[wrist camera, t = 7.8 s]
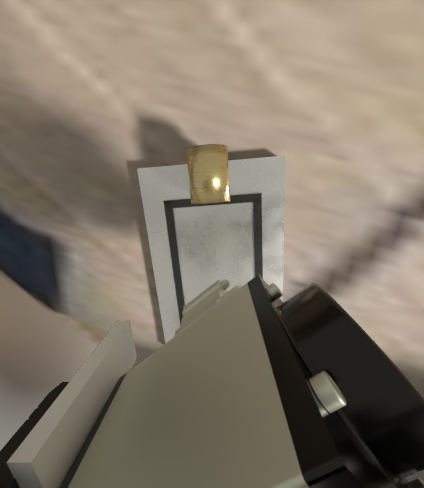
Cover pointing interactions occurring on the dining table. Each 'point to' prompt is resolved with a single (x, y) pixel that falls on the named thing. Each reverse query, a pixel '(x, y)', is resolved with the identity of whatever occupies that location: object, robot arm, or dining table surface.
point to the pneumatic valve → (258, 402)
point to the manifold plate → (212, 225)
